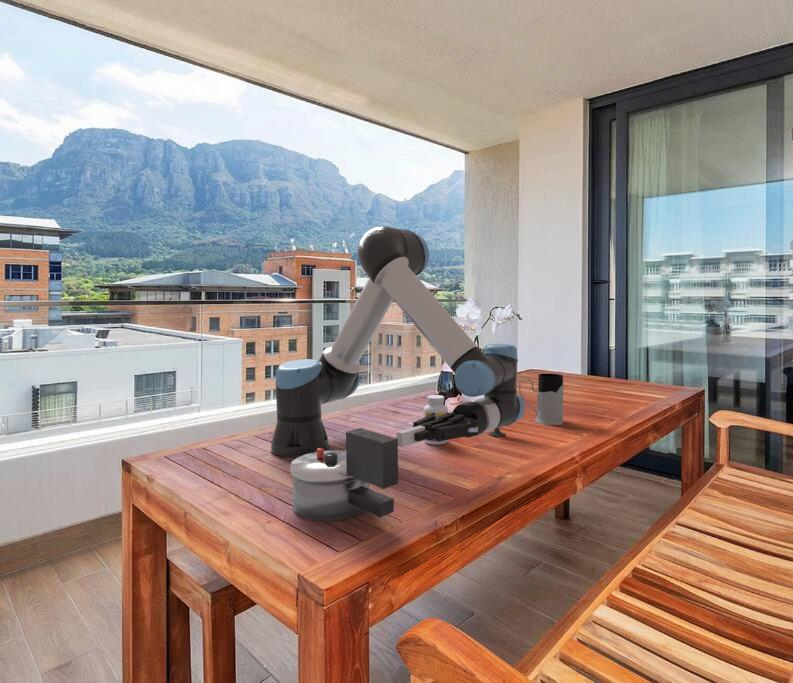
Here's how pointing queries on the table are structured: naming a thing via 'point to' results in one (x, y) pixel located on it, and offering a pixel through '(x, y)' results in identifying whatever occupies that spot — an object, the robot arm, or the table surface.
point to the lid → (352, 461)
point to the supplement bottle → (435, 407)
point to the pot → (338, 500)
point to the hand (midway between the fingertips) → (399, 439)
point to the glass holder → (548, 399)
